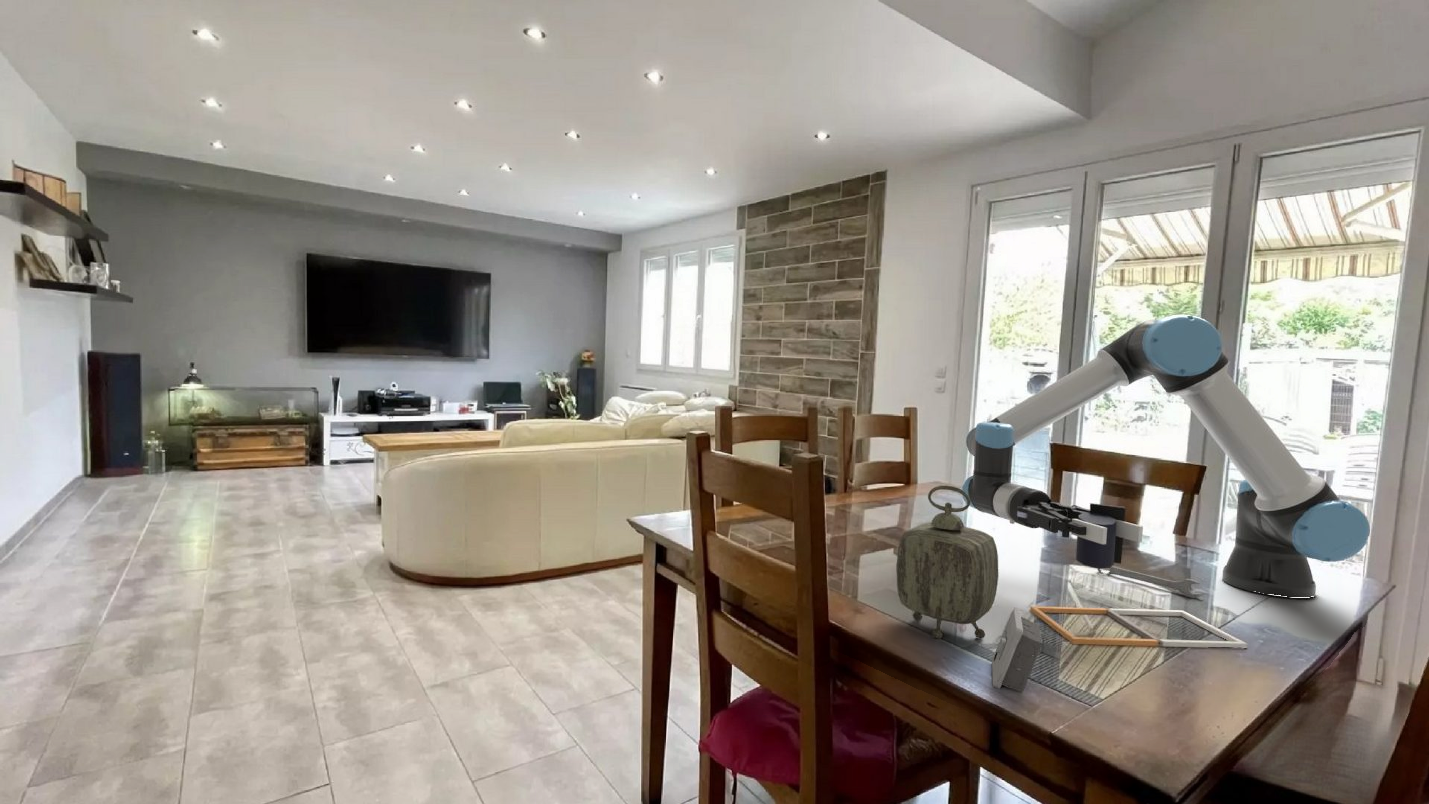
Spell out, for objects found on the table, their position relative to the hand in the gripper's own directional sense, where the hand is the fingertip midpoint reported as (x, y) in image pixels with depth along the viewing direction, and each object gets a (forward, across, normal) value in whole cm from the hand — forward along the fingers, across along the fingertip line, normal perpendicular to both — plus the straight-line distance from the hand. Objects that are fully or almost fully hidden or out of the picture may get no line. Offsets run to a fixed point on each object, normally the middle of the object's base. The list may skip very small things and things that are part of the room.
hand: (1122, 535), depth 108 cm
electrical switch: (+8, +27, -18) cm, 34 cm away
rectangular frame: (-3, -7, -18) cm, 19 cm away
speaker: (-5, -1, -7) cm, 8 cm away
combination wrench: (-22, -31, -18) cm, 42 cm away
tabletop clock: (-7, +28, -18) cm, 34 cm away
